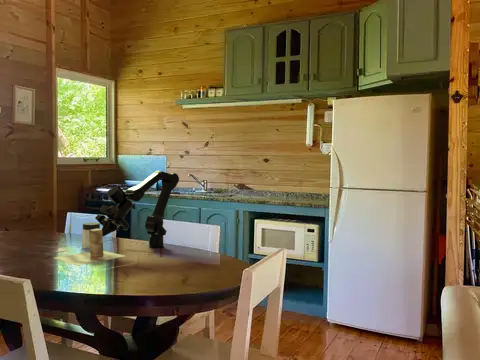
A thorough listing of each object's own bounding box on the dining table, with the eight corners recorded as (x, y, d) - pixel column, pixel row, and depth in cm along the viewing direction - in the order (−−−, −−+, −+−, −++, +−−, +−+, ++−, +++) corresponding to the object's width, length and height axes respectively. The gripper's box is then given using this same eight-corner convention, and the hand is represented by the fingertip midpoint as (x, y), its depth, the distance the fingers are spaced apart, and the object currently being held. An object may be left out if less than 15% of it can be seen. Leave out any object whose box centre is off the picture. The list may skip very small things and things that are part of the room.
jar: (102, 248, 221) (103, 224, 220) (86, 250, 216) (86, 225, 215) (95, 245, 228) (96, 221, 227) (79, 247, 223) (79, 223, 222)
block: (98, 254, 203) (96, 228, 201) (103, 255, 200) (102, 229, 199) (90, 256, 199) (88, 230, 198) (95, 257, 197) (94, 231, 196)
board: (99, 250, 214) (100, 249, 214) (126, 257, 202) (126, 256, 202) (52, 259, 195) (52, 257, 195) (78, 266, 183) (78, 265, 183)
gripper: (99, 197, 210) (77, 222, 201) (124, 200, 198) (102, 227, 190) (113, 212, 216) (92, 238, 208) (137, 216, 205) (117, 243, 196)
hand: (100, 236), depth 200 cm, fingers closed, pressing on block
